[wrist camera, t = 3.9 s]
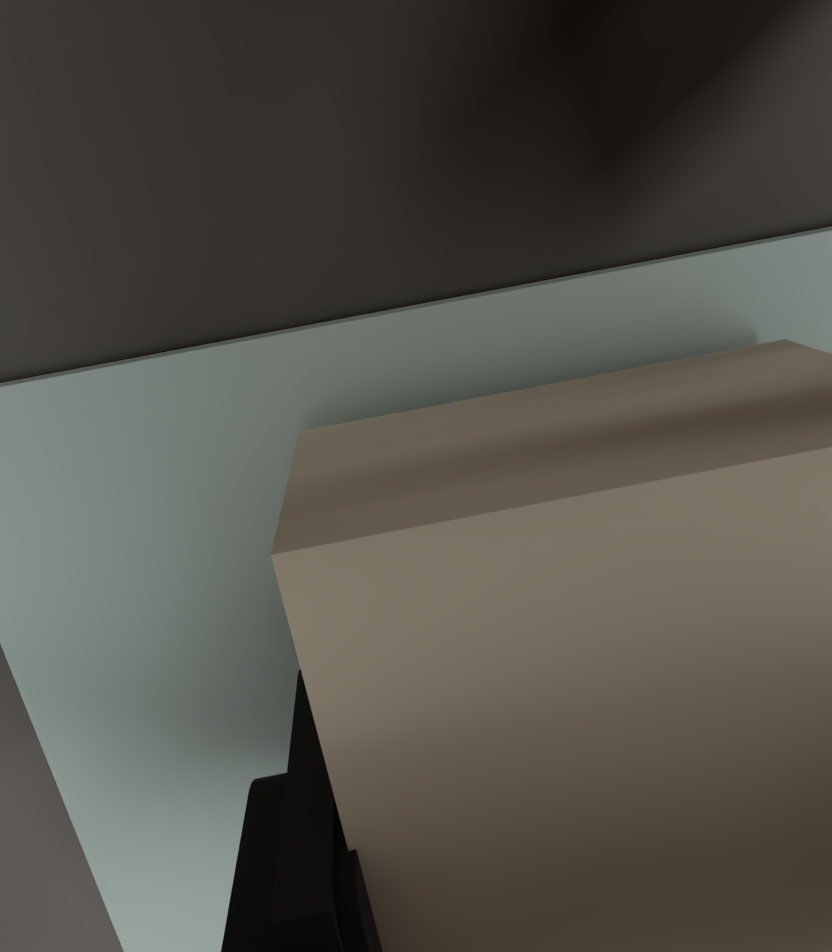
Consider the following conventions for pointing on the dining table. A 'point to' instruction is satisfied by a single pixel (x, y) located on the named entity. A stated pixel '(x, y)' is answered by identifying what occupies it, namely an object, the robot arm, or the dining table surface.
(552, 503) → the card box
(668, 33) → the dining table surface
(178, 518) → the mat
